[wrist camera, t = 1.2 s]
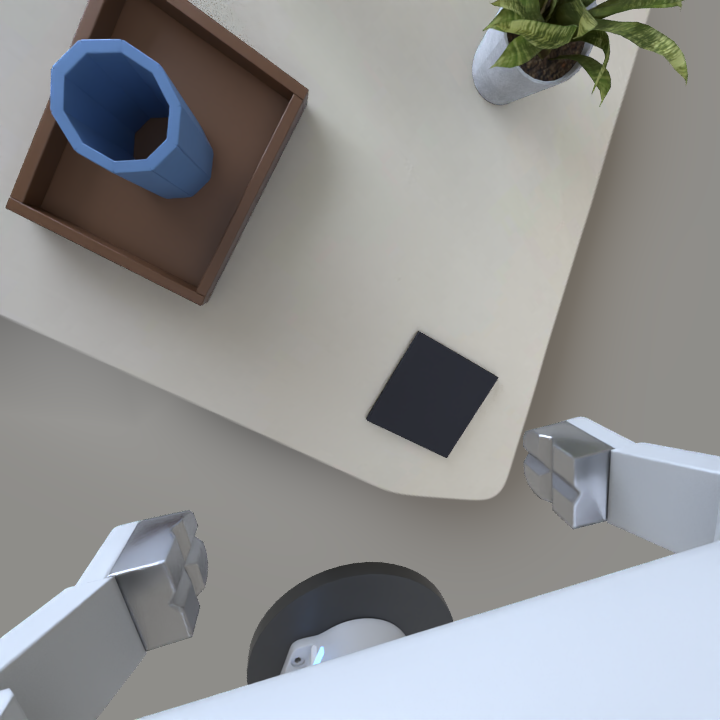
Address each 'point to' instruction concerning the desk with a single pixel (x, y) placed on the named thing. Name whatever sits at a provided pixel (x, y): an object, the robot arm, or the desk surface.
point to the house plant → (559, 45)
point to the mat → (431, 396)
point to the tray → (211, 109)
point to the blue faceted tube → (128, 116)
